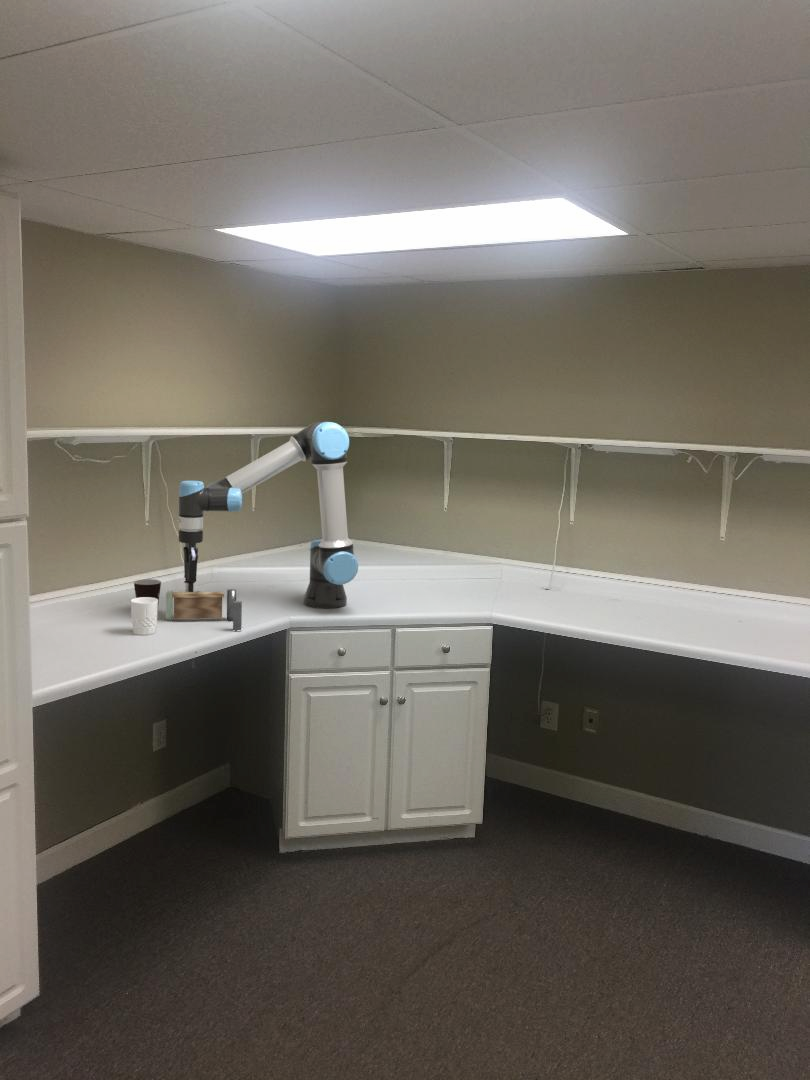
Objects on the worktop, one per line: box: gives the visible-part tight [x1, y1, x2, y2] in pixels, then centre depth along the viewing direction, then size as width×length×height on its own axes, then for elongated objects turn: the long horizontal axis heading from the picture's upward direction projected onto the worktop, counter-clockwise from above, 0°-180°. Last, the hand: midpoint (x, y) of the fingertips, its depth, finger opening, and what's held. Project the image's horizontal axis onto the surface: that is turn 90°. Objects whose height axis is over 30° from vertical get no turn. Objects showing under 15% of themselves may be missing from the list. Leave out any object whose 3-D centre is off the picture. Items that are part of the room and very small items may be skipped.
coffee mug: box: [133, 578, 162, 605], centre depth 286 cm, size 12×9×10 cm
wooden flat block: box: [172, 591, 225, 620], centre depth 276 cm, size 16×2×8 cm, turn 104°
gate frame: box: [165, 588, 243, 631], centre depth 272 cm, size 25×15×10 cm, turn 95°
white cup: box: [130, 597, 159, 636], centre depth 260 cm, size 8×8×10 cm
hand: (189, 601), depth 278 cm, fingers closed
